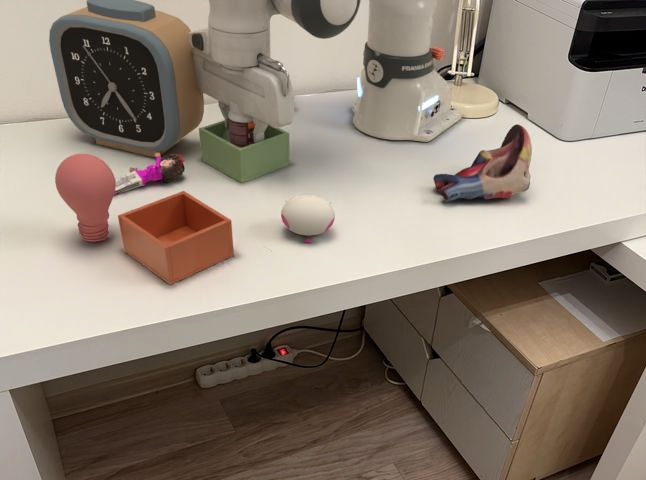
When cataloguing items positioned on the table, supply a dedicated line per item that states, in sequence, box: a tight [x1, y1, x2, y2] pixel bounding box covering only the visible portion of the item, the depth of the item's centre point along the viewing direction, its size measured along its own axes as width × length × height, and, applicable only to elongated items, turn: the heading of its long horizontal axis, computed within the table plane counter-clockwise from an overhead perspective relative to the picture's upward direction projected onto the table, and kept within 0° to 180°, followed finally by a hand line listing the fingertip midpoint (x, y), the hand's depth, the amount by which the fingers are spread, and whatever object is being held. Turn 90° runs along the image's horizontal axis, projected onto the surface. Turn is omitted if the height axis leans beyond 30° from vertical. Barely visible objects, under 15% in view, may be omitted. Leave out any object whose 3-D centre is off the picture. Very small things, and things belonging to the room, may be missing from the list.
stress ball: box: [280, 194, 336, 244], centre depth 96 cm, size 8×8×7 cm
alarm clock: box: [48, 0, 205, 159], centre depth 108 cm, size 21×10×22 cm, turn 72°
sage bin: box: [198, 120, 290, 184], centre depth 110 cm, size 10×10×6 cm
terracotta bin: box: [117, 190, 234, 286], centre depth 89 cm, size 10×10×6 cm
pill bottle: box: [228, 102, 256, 148], centre depth 108 cm, size 5×5×8 cm
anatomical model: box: [432, 123, 533, 203], centre depth 108 cm, size 9×13×15 cm
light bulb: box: [54, 152, 116, 243], centre depth 88 cm, size 7×7×12 cm
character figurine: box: [114, 153, 186, 196], centre depth 103 cm, size 6×5×12 cm
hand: (244, 135), depth 109 cm, fingers closed on pill bottle, 5 cm apart
